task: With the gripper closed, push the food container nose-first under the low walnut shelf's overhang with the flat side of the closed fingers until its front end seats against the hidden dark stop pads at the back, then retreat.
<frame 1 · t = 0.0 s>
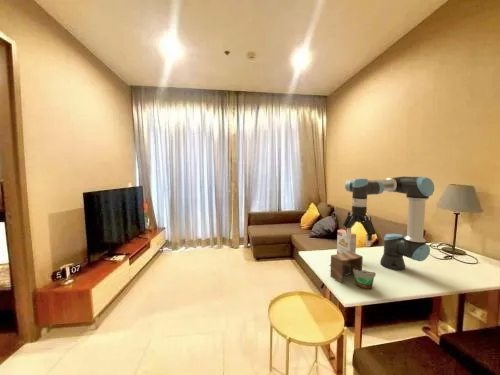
hand: (357, 242, 127), 28 cm above the table, fingers open, 13 cm apart
walnut shelf: (345, 276, 144), on the table
food container: (363, 288, 131), on the table
cracker box: (345, 257, 175), on the table
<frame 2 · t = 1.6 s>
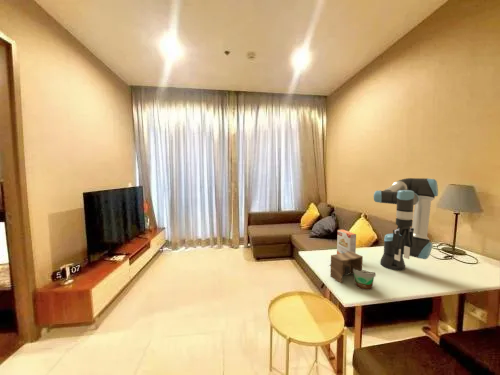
hand: (401, 259, 123), 20 cm above the table, fingers open, 7 cm apart
nothing on the table moved.
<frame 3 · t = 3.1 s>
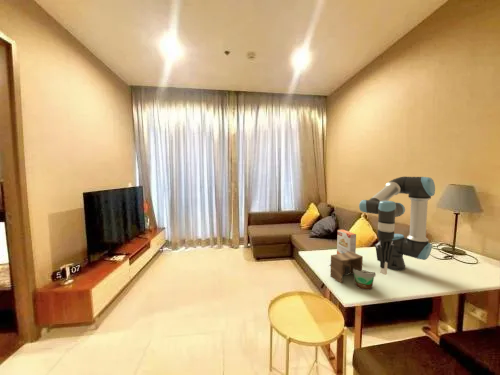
hand: (383, 273, 118), 14 cm above the table, fingers closed
nothing on the table moved.
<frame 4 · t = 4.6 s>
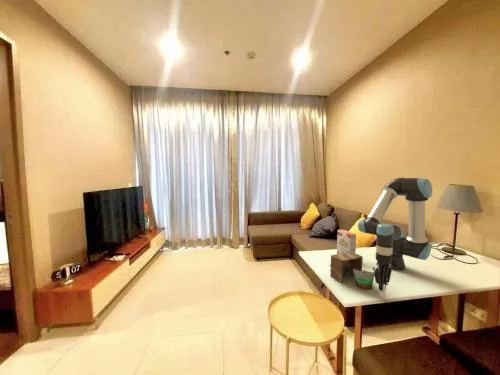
hand: (381, 295, 120), 2 cm above the table, fingers closed
nothing on the table moved.
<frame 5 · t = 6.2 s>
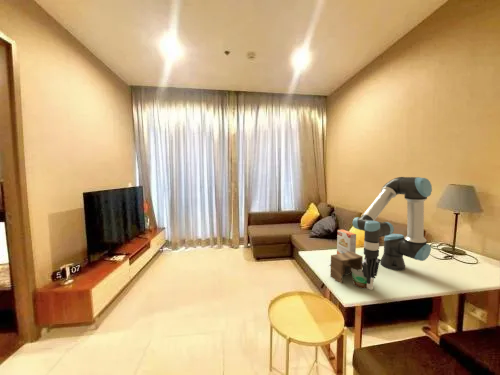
hand: (369, 288, 127), 2 cm above the table, fingers closed
food container: (361, 287, 132), on the table, touching gripper
everything else where it was.
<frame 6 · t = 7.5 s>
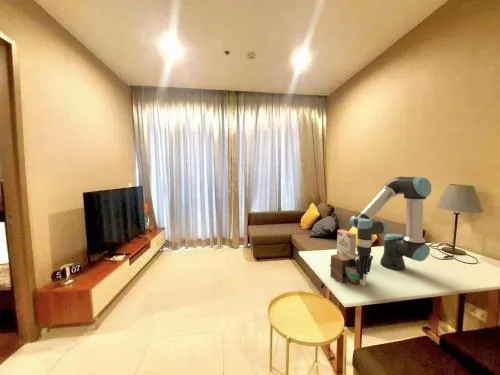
hand: (362, 284, 131), 2 cm above the table, fingers closed
food container: (354, 283, 136), on the table, touching gripper
everything else where it was.
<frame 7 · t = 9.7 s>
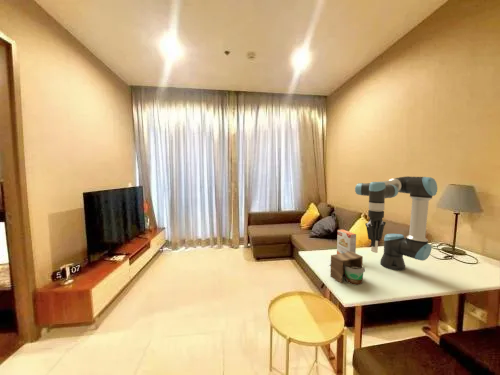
hand: (374, 251, 123), 24 cm above the table, fingers closed
food container: (354, 283, 136), on the table
everything else where it was.
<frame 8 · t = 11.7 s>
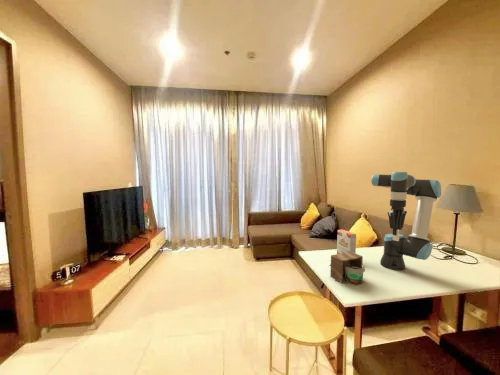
hand: (395, 240, 126), 29 cm above the table, fingers closed
nothing on the table moved.
at the end: food container inside the target area (2.8 cm from its centre), on the table; food container tilted 0°; the gripper is holding nothing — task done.
